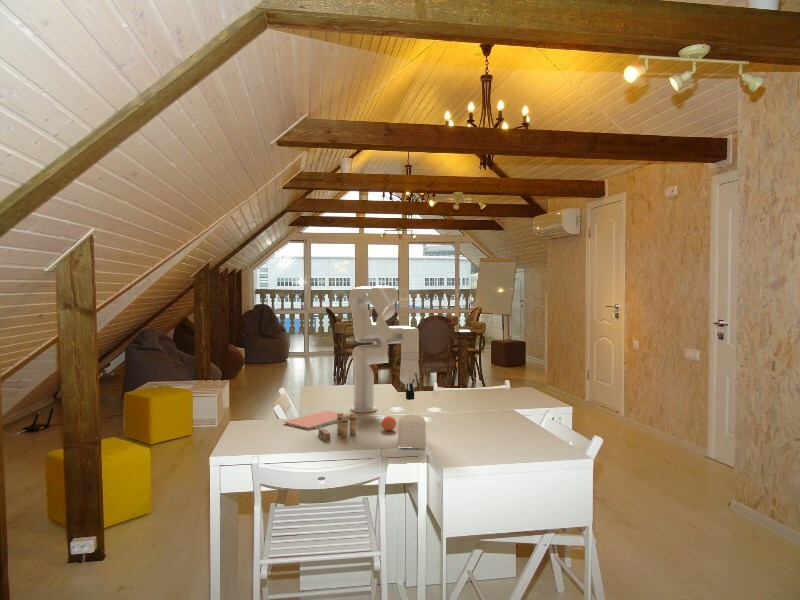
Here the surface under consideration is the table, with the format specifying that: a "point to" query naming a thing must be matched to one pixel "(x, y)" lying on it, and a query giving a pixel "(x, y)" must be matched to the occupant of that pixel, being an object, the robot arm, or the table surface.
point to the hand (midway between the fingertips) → (410, 399)
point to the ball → (388, 423)
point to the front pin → (352, 424)
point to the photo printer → (412, 432)
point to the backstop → (324, 433)
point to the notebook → (315, 420)
